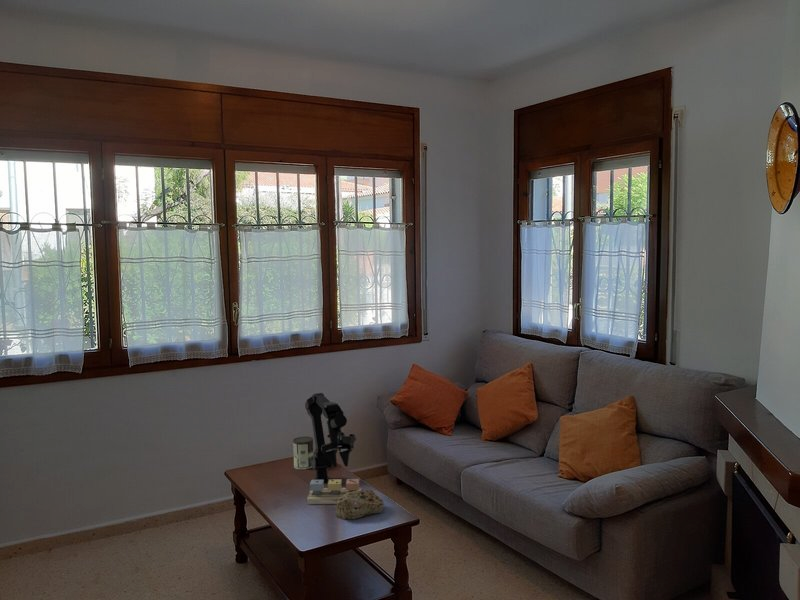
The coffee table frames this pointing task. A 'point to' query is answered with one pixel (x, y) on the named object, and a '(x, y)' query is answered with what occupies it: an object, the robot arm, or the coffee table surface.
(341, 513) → the rock
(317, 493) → the blue-grey cube
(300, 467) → the coffee can
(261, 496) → the coffee table surface
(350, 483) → the pink cube
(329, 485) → the yellow cube
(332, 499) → the keypad board
